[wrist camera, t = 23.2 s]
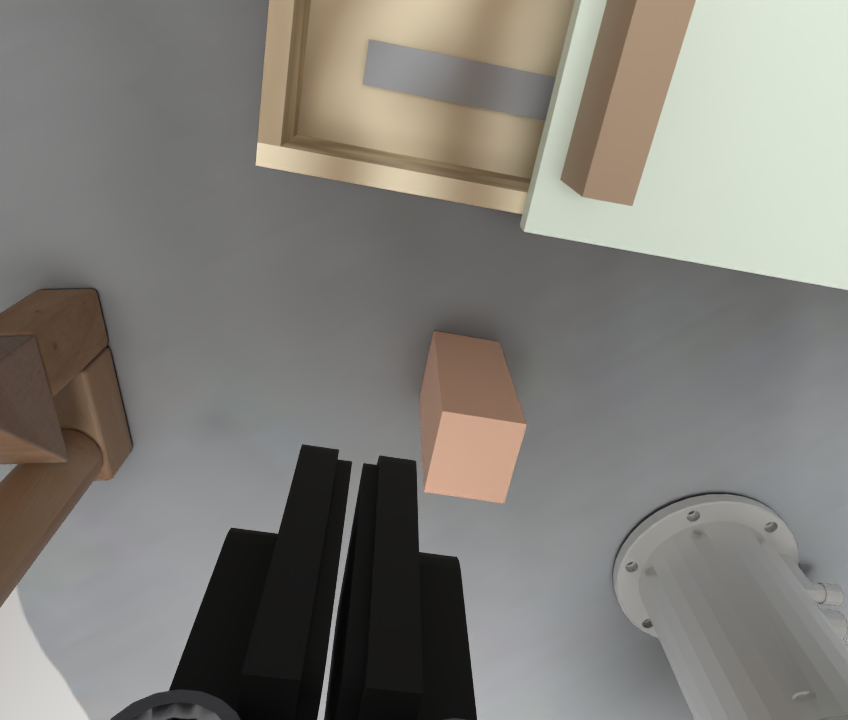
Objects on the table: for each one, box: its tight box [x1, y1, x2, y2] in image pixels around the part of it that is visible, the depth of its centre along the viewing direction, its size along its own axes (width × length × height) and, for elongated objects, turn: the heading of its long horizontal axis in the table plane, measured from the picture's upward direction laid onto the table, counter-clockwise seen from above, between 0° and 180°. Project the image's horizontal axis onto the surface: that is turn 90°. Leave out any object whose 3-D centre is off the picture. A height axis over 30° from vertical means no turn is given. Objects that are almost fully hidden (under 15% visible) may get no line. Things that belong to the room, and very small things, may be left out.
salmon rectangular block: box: [420, 331, 527, 503], centre depth 37 cm, size 4×4×10 cm
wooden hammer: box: [0, 289, 132, 607], centre depth 32 cm, size 4×11×18 cm, turn 1°
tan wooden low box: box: [256, 0, 575, 214], centre depth 31 cm, size 20×14×6 cm
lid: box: [520, 0, 848, 290], centre depth 27 cm, size 21×15×5 cm
